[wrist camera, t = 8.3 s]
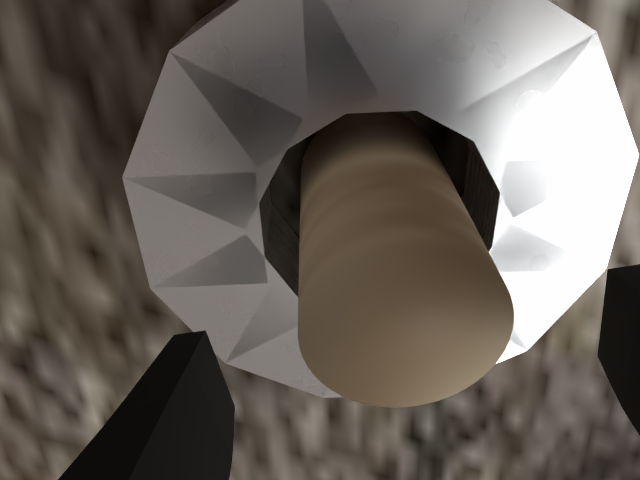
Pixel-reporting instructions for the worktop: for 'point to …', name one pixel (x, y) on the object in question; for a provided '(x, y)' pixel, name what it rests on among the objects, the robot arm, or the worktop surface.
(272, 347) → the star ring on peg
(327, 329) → the tan cylinder
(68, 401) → the worktop surface
